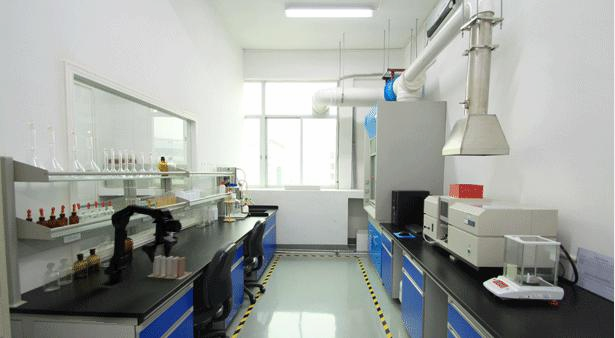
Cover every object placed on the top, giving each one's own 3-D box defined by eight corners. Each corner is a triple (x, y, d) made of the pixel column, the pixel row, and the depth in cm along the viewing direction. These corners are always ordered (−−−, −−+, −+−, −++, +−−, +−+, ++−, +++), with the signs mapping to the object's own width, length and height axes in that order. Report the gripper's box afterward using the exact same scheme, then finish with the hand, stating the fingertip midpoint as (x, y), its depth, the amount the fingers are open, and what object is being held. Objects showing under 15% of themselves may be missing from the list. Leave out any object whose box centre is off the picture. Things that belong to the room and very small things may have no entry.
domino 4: (170, 276, 148) (171, 259, 148) (176, 273, 153) (177, 256, 153) (173, 276, 148) (173, 259, 148) (178, 273, 153) (179, 256, 153)
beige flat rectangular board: (146, 278, 147) (147, 276, 147) (160, 271, 158) (160, 269, 158) (180, 281, 144) (180, 279, 144) (192, 274, 155) (192, 272, 155)
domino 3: (164, 275, 149) (165, 258, 149) (170, 272, 154) (171, 256, 154) (167, 275, 148) (167, 258, 149) (172, 272, 153) (173, 256, 154)
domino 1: (152, 274, 150) (153, 257, 150) (158, 271, 155) (159, 255, 155) (155, 274, 150) (155, 257, 150) (161, 271, 155) (161, 255, 155)
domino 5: (176, 276, 147) (177, 259, 148) (182, 273, 152) (183, 257, 153) (179, 276, 147) (180, 259, 148) (184, 273, 152) (185, 257, 153)
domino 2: (158, 275, 149) (159, 258, 150) (164, 272, 154) (165, 255, 155) (161, 275, 149) (161, 258, 149) (167, 272, 154) (167, 255, 154)
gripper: (159, 236, 127) (157, 267, 126) (185, 229, 145) (184, 256, 144) (141, 234, 130) (139, 265, 129) (170, 228, 148) (168, 254, 147)
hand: (159, 260), depth 137 cm, fingers open, 9 cm apart
